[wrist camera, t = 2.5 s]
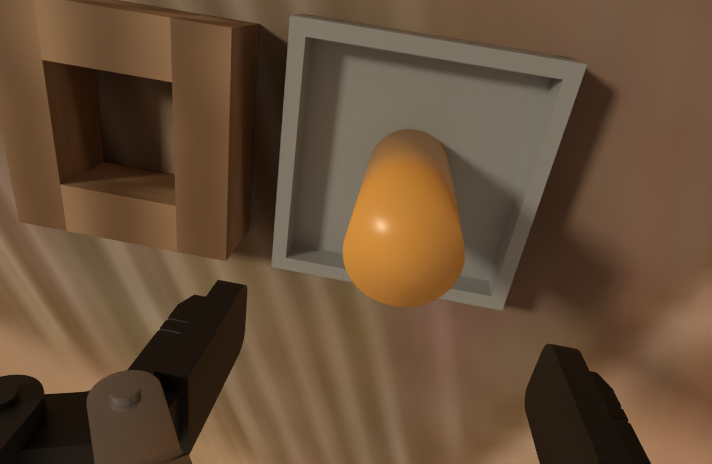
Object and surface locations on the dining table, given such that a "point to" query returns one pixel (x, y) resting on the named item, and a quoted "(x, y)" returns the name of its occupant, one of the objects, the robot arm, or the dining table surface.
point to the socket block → (83, 129)
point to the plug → (405, 223)
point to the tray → (425, 113)
